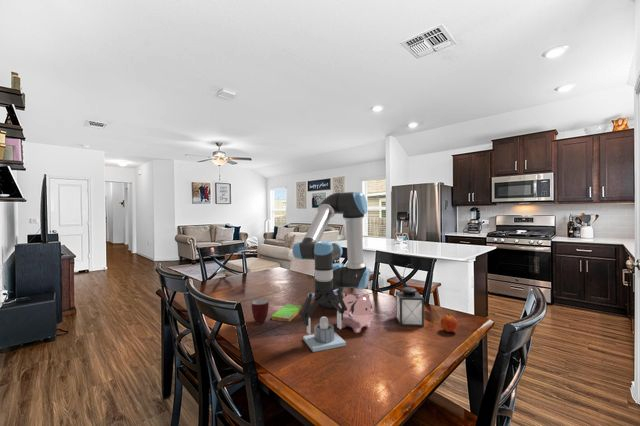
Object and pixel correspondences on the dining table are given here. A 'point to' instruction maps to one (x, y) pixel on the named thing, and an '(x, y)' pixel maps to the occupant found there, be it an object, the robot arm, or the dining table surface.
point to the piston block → (323, 346)
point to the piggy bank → (357, 312)
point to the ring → (324, 334)
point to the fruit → (449, 323)
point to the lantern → (409, 307)
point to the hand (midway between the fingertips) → (324, 330)
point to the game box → (287, 312)
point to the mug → (260, 310)
